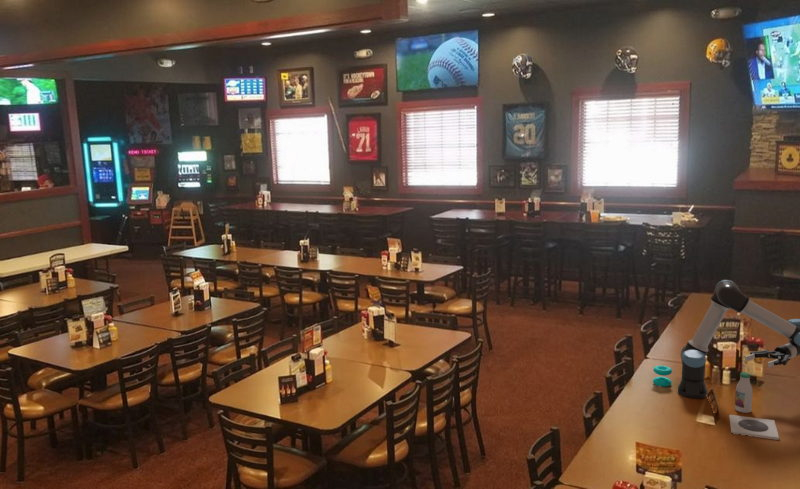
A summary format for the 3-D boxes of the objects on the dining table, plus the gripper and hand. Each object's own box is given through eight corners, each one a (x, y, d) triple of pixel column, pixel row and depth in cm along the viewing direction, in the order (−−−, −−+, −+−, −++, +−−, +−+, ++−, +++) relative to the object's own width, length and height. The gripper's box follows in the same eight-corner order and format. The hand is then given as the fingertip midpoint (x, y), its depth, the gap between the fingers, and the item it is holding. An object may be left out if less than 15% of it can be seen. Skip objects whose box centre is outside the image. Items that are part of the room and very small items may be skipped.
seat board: (731, 433, 317) (731, 430, 317) (729, 416, 335) (729, 414, 335) (778, 440, 309) (779, 437, 309) (774, 422, 327) (774, 419, 327)
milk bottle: (747, 407, 346) (749, 370, 342) (754, 413, 338) (756, 376, 335) (732, 407, 347) (734, 370, 343) (738, 413, 339) (740, 376, 336)
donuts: (676, 368, 376) (663, 372, 372) (675, 385, 377) (662, 388, 373) (662, 363, 385) (649, 366, 381) (661, 379, 386) (649, 383, 382)
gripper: (807, 364, 341) (779, 374, 333) (764, 353, 363) (736, 363, 356) (807, 350, 340) (778, 360, 332) (763, 340, 362) (735, 350, 355)
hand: (756, 362), depth 344 cm, fingers open, 13 cm apart
